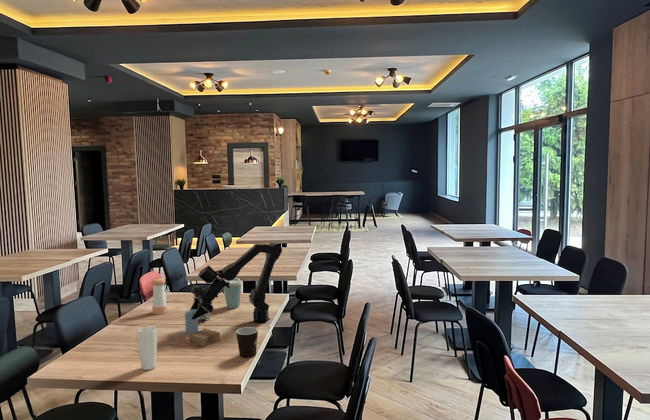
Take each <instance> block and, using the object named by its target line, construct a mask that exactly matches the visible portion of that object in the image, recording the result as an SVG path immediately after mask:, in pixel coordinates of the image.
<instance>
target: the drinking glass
mask: <svg viewBox="0 0 650 420" xmlns="http://www.w3.org/2000/svg"><path fill="white" fill-rule="evenodd" d="M137 345H138V350H139V351H138V352H139V358H140V366H141V367H140V368H141V369H142V370H143V371H149V370H150V369H151V370H153V369H155V368H157V354H158V353H157V349H158V329H157V327H156V326H154V325H147V326H143V327H139V328H138V329H137Z"/></svg>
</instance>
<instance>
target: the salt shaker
mask: <svg viewBox="0 0 650 420" xmlns="http://www.w3.org/2000/svg"><path fill="white" fill-rule="evenodd" d="M150 283H151V285H152V289H153V290H152V294H153V295H152V308H151V310H152V314H153V315H162V314H165V313H167V312H168V305H167V297H166V293H165V283H166V279H165V278H164V277H160V276H156V278H154V279H152V280H151V282H150Z"/></svg>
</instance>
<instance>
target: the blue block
mask: <svg viewBox="0 0 650 420" xmlns="http://www.w3.org/2000/svg"><path fill="white" fill-rule="evenodd" d="M196 311H197V310H196V309H192V310H190V309H186V310H184V325H185V333H186V335H187V336H189V335H190V334H193V333H196V332H198V331H199V318H196V319H194V320H193V319H192V317H193V315H194V314H195V312H196Z"/></svg>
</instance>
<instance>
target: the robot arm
mask: <svg viewBox="0 0 650 420" xmlns="http://www.w3.org/2000/svg"><path fill="white" fill-rule="evenodd" d="M282 252H283V248H282V246H281V245H280V244H279V243H276V242H270V243H269V244H267V243H255V244H253V246H252V247H251V248H249V249H248V250H247V251H246V252H245V253H244V254H242V255H241V256H240V257H239V258H238V259H236V260H235V261H234V262H231V263H229V264H228V265H226V266H224V267H222V269H219V270H214V269H213V268H212V266H210V264H208V265H207V266H205V267H204V268H203V269H201V270H200V271H198V274H197V276H198V278H200V279H201V280H202V281H203V282H204V283H205V284H210V285H209V286H205V288H204V287H201V286H198V285H196V284H195V285H194V284H193V285H192V288H191V290H190V292H191V294H193V303H192V305H191V307H190V309H189V310H192V309H196V310H197V311H196V312H195V314H194V315H193V317H192V319H193V320H194V319H196V318H198V317H200V316H202V315H204V314H207V313H209V312H210V314H211V313H212V312H213V310H214V305H213V301H214V300H215V299H217V298H218V297H219V294H220V293H221V292H222V291H223V290H224V289H223V288H224V287H225V286H226V287H227V288H230V286H229V284H230V283H229V282H226V281H225V280H228V281H231V280H233V279H234V278H237V276H238V275H239V274H240V272H241V270H242V269H243V267H245V266H246V265H247V264H248V263H250V262H251V261H252V260H253V259H254V258H255V257H256V256H257V255H259V254H260V253H263V254H265V260H264V265H263V267H262V271H261V273H260V276H259V279H258V281H257V285H256V287H255V288H254V289H253V288H251V289H250V294H249V295H248V298H249V302H250V304H251V305H252V306H253V307H254V308H253V312H252V315H253V318H252V319H253V321H252V322H253V323H260V324H261V323H262V324H266V323H267V322H268V321H270V319H271V318H270V317H269V309H270V305H269V304H268V303H267V302H265V301H266V290H267V288H268V287H267V286H268V283H269V281H270V277H271V275H272V272H273V269H274V265H275V264H276V262H277V260H278V259H279V258H280V257H281V254H282ZM198 319H199V318H198Z"/></svg>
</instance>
